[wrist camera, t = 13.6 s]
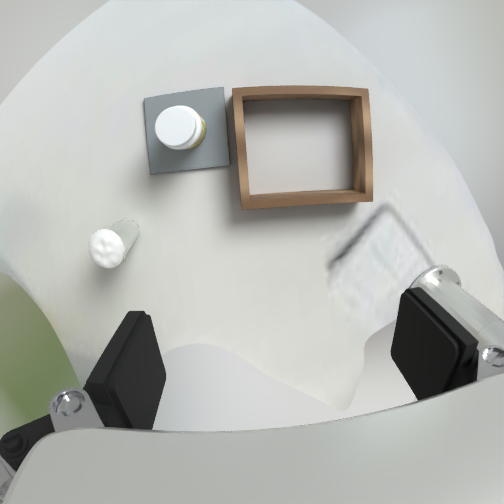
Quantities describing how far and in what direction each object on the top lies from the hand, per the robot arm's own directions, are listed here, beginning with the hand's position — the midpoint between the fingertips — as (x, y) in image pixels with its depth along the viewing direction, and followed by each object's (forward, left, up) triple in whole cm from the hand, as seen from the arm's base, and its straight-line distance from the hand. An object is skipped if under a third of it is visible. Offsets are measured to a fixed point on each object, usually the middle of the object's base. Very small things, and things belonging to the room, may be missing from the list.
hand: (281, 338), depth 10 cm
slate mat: (+10, +7, -29) cm, 32 cm away
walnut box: (+7, -7, -29) cm, 31 cm away
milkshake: (-2, +16, -30) cm, 34 cm away
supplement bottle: (+9, +7, -29) cm, 31 cm away
